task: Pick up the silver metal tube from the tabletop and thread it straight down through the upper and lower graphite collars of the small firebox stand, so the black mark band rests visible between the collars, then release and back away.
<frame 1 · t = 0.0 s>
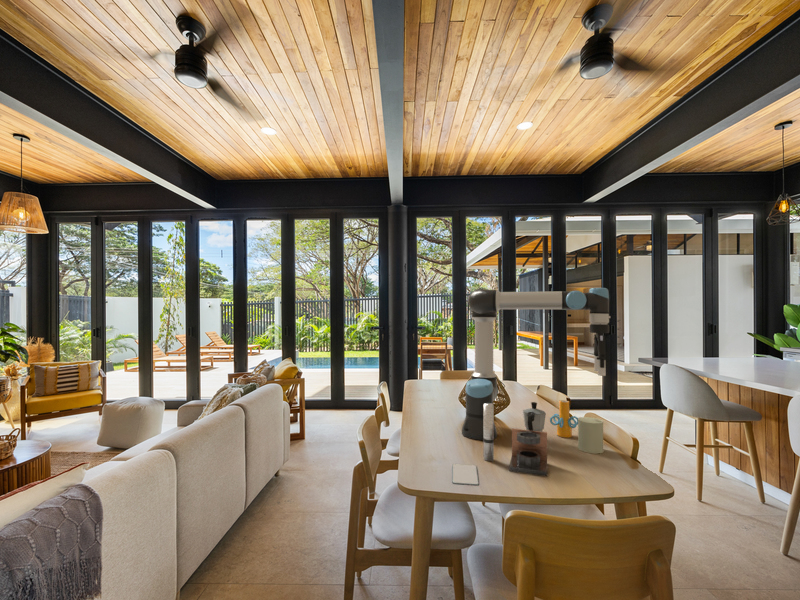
hand: (599, 373, 166), 28 cm above the table, tool pointing down, fingers open, 13 cm apart
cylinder: (564, 436, 170), on the table
can: (590, 450, 153), on the table
coffee maker: (533, 449, 153), on the table
silver metal tube: (488, 459, 141), on the table
collar stand: (528, 467, 135), on the table
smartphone: (464, 476, 128), on the table
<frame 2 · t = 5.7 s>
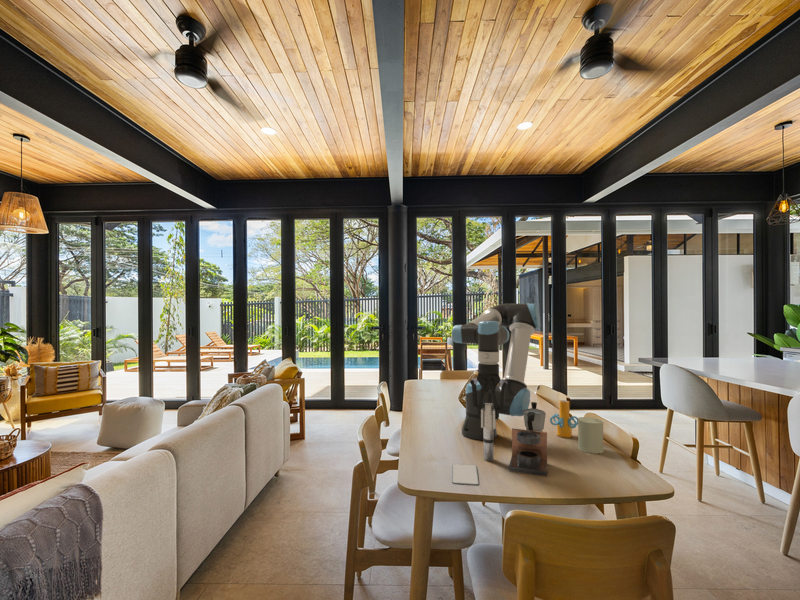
hand: (488, 427, 142), 12 cm above the table, tool pointing down, fingers closed on silver metal tube, 3 cm apart
silver metal tube: (488, 459, 141), on the table, touching gripper
everything else where it was.
when the fingers open (14 cm above the table, at t = 12.0 s): silver metal tube drops 1 cm, resting on collar stand.
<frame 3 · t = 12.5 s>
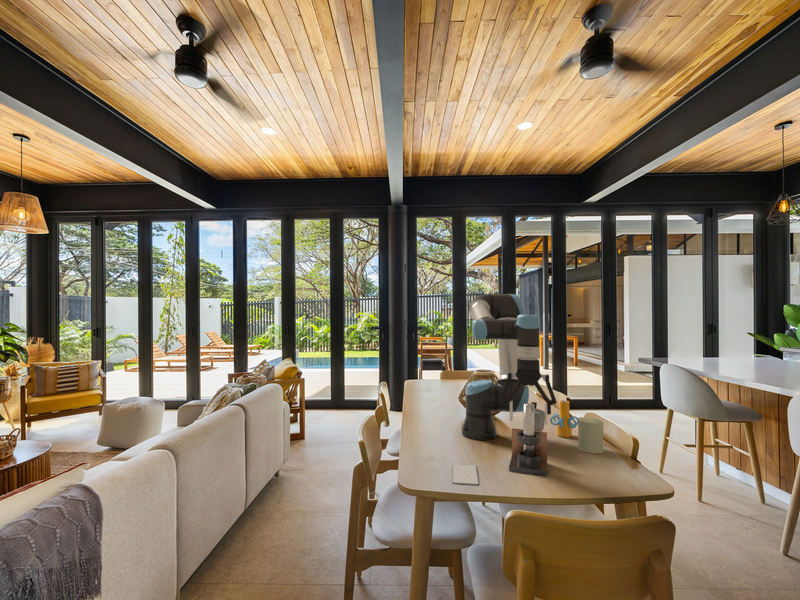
hand: (528, 421, 135), 15 cm above the table, tool pointing down, fingers open, 11 cm apart
silver metal tube: (528, 462, 135), point 2 cm above the table, touching collar stand
everything else where it was.
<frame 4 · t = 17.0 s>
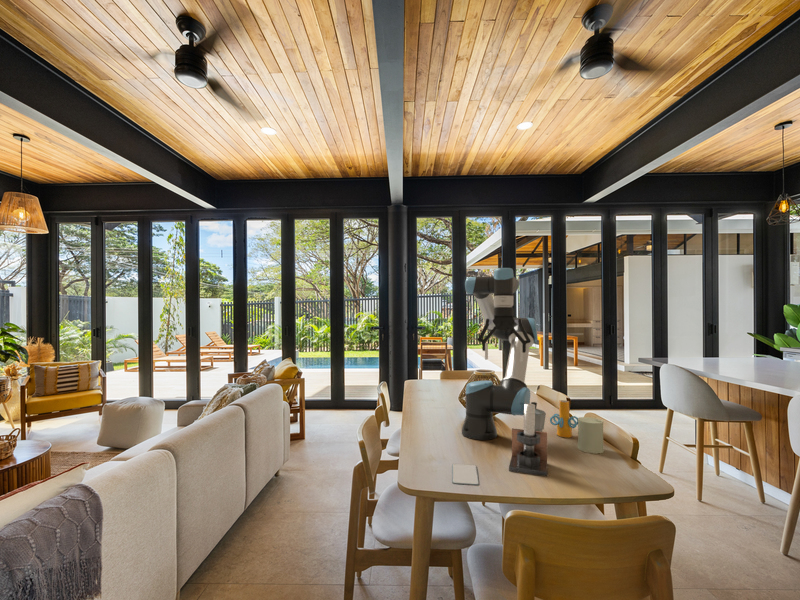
hand: (503, 360, 154), 35 cm above the table, tool pointing down, fingers open, 13 cm apart
nothing on the table moved.
at the end: silver metal tube 0.0 cm off-centre on the collar stand, point 1.5 cm above the collar stand's base; silver metal tube tilted 1°; the gripper is holding nothing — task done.
